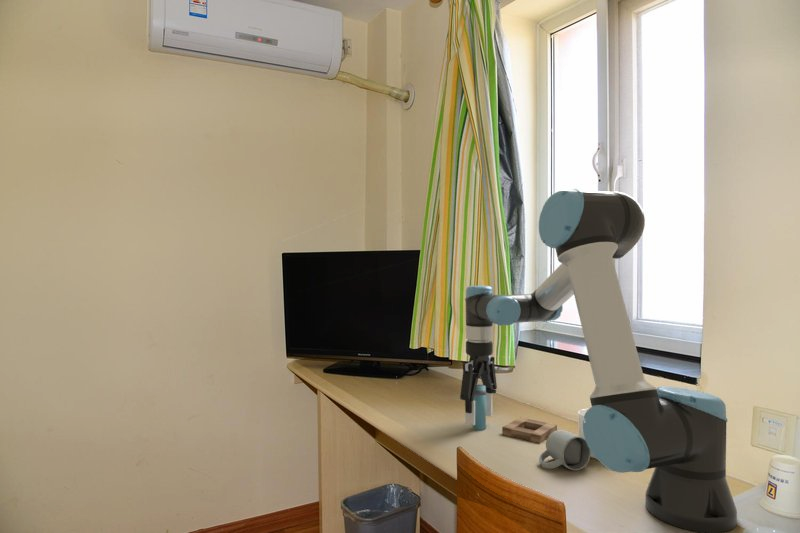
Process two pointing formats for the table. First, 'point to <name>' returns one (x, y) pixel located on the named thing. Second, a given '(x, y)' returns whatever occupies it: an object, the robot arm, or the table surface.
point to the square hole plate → (529, 429)
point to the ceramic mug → (566, 451)
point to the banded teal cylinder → (480, 407)
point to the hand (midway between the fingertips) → (479, 419)
